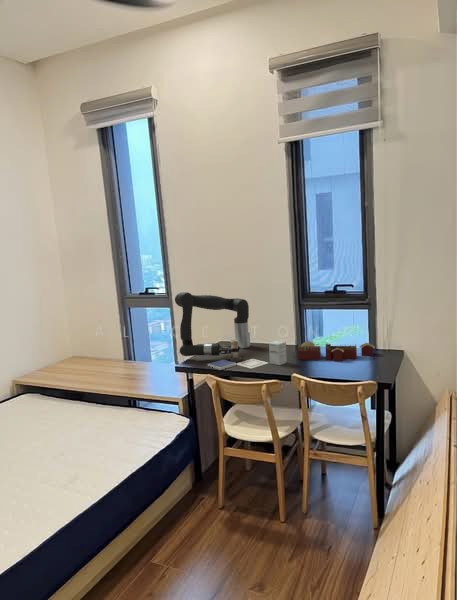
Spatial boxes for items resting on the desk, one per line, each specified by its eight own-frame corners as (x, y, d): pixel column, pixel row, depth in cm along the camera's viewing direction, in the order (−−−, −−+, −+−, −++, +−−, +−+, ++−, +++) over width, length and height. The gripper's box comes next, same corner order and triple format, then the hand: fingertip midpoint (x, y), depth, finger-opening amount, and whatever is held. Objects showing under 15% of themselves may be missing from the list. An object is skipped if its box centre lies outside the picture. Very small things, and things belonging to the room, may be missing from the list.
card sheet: (252, 359, 277) (252, 358, 277) (268, 363, 266) (268, 362, 266) (235, 364, 268) (235, 363, 268) (251, 368, 257) (250, 368, 257)
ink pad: (223, 361, 275) (223, 359, 275) (236, 365, 266) (235, 362, 266) (207, 366, 268) (207, 363, 268) (220, 370, 258) (220, 367, 258)
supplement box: (269, 363, 265) (268, 342, 264) (277, 360, 270) (276, 340, 269) (279, 365, 260) (278, 344, 258) (287, 362, 265) (286, 341, 263)
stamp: (236, 358, 281) (234, 339, 279) (241, 359, 277) (240, 340, 275) (229, 360, 278) (228, 340, 276) (234, 361, 274) (233, 342, 272)
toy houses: (297, 361, 267) (296, 345, 265) (299, 352, 286) (299, 336, 285) (377, 361, 256) (377, 344, 255) (373, 352, 276) (373, 336, 275)
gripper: (209, 346, 272) (237, 346, 268) (214, 340, 285) (240, 340, 282) (209, 358, 273) (237, 358, 269) (214, 352, 286) (241, 352, 283)
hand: (239, 349), depth 276 cm, fingers closed on stamp, 4 cm apart
